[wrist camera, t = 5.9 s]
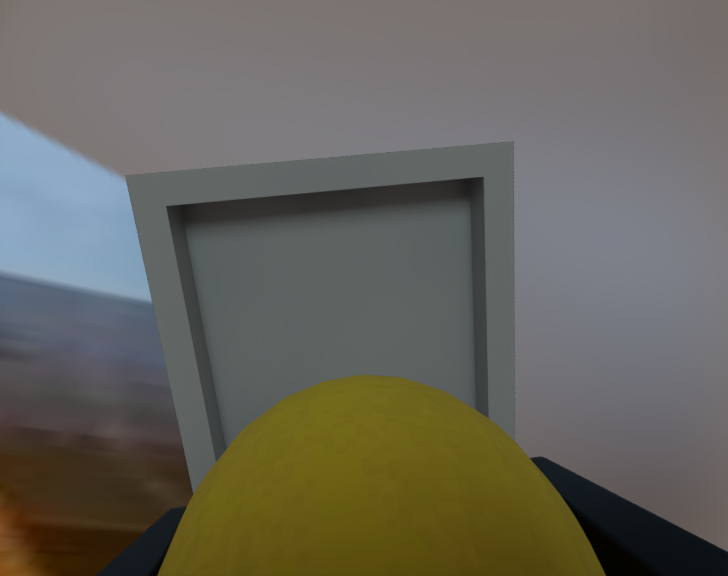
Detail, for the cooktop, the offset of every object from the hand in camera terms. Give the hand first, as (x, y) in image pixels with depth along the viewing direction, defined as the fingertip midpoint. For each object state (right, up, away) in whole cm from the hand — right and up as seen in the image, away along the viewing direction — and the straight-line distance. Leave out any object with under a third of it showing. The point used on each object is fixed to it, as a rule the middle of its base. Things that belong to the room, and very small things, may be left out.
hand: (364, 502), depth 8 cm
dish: (-1, +2, +9) cm, 10 cm away
